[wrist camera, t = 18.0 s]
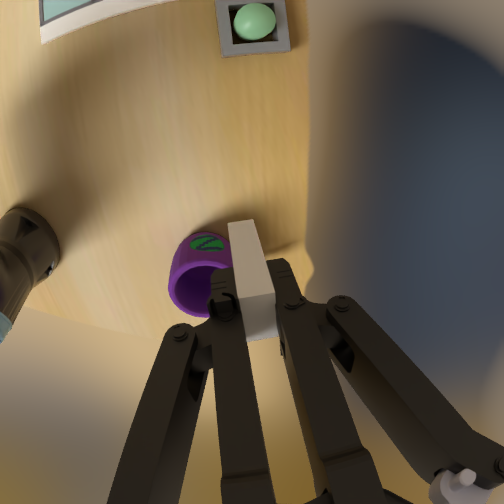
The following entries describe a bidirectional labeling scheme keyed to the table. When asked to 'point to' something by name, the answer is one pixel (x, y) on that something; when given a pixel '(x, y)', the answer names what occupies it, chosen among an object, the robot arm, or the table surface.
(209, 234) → the mug
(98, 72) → the table surface
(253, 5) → the button
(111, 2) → the colored panel board
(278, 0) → the button housing
